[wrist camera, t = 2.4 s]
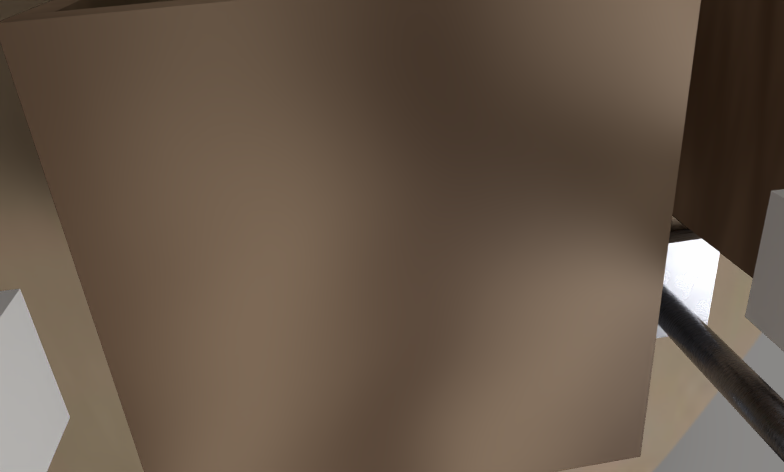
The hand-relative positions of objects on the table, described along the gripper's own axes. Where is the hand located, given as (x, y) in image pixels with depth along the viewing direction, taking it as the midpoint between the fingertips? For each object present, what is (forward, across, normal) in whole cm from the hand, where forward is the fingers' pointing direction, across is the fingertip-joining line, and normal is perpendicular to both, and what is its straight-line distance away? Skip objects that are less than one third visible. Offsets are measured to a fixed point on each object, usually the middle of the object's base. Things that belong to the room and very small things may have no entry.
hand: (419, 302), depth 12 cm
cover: (+14, 0, 0) cm, 14 cm away
